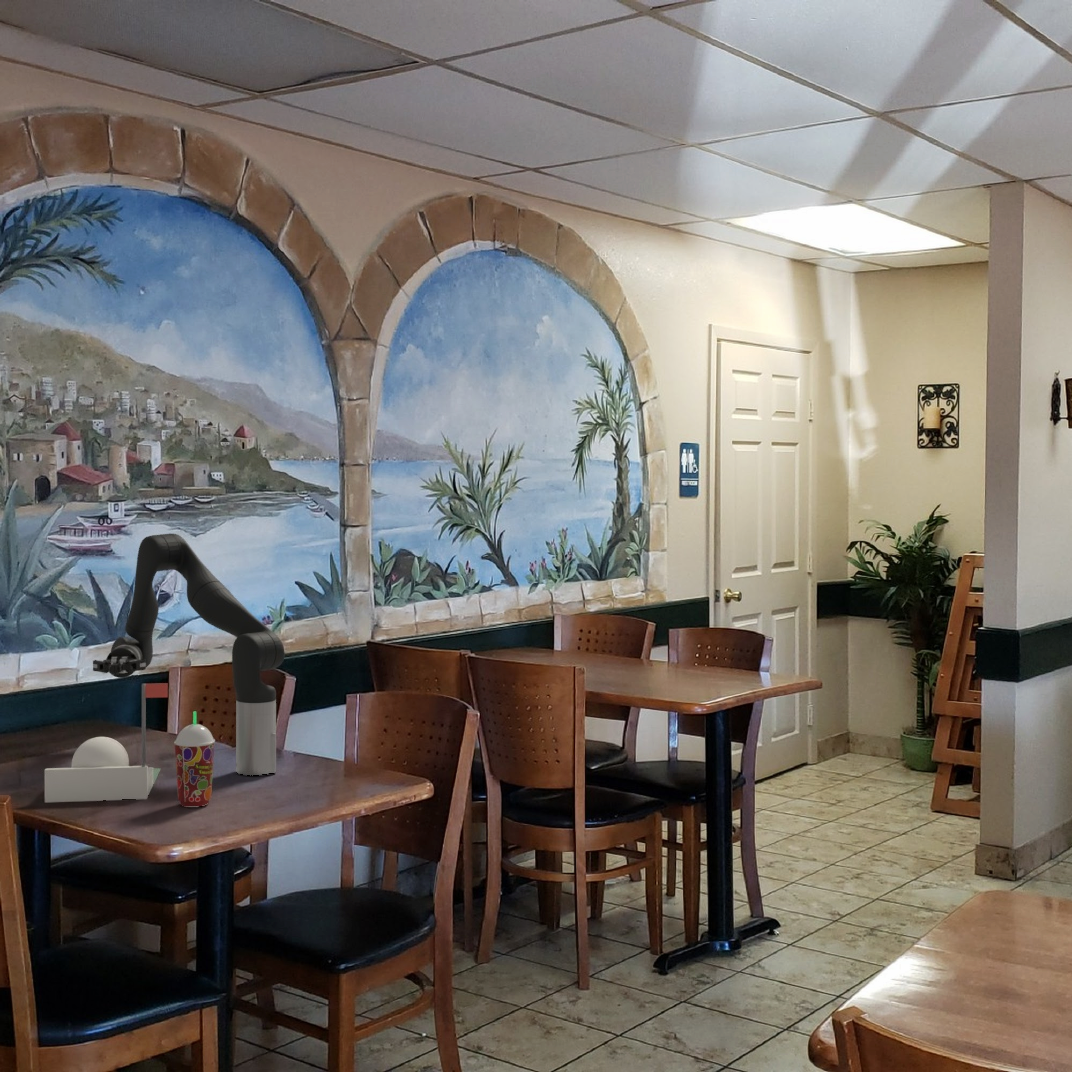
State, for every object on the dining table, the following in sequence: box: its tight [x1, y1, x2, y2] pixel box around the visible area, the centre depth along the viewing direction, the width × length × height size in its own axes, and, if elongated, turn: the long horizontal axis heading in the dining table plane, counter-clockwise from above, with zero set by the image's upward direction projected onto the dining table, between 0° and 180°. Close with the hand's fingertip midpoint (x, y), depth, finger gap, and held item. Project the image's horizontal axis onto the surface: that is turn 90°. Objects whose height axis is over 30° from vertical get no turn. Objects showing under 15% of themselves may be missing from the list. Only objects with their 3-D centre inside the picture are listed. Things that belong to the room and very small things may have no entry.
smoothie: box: [173, 710, 216, 807], centre depth 274 cm, size 8×8×20 cm
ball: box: [71, 736, 130, 768], centre depth 284 cm, size 12×12×12 cm
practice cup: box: [44, 682, 169, 803], centre depth 292 cm, size 25×30×25 cm
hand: (114, 669), depth 305 cm, fingers closed
